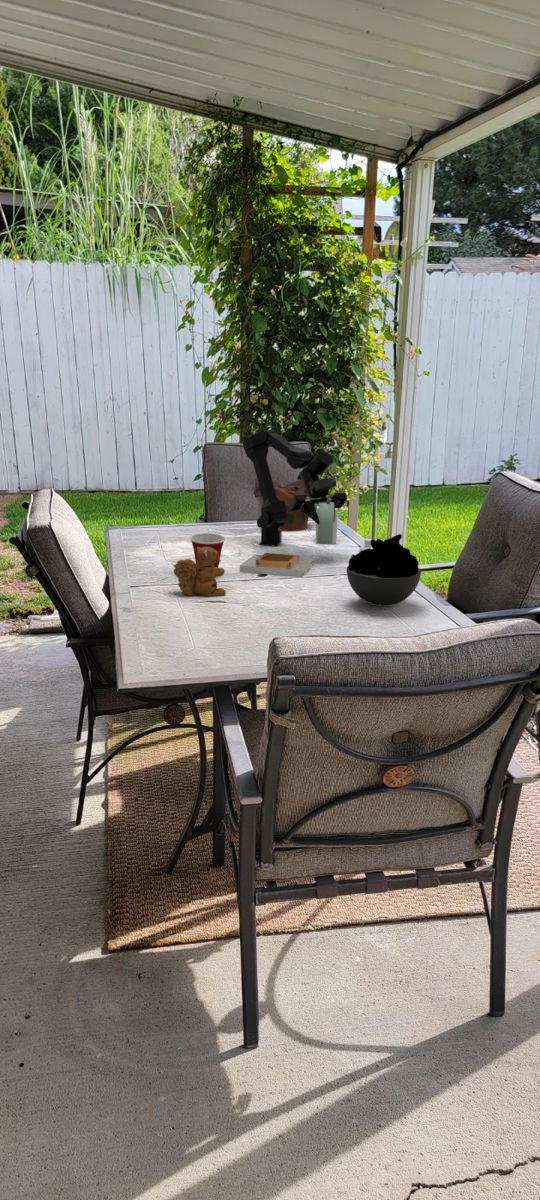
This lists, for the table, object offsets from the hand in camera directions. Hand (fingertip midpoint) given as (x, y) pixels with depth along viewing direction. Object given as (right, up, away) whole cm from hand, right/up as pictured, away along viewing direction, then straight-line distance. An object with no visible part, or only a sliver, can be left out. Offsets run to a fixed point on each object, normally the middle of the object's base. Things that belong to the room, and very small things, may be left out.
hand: (326, 522), depth 280 cm
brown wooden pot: (-10, +3, +59) cm, 60 cm away
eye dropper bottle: (+12, -16, -8) cm, 22 cm away
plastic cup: (-37, -17, -13) cm, 43 cm away
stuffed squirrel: (-38, -23, -33) cm, 55 cm away
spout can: (0, -6, +2) cm, 7 cm away
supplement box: (+2, -4, +35) cm, 35 cm away
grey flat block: (-16, -15, -4) cm, 22 cm away
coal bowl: (+13, -26, -42) cm, 51 cm away
